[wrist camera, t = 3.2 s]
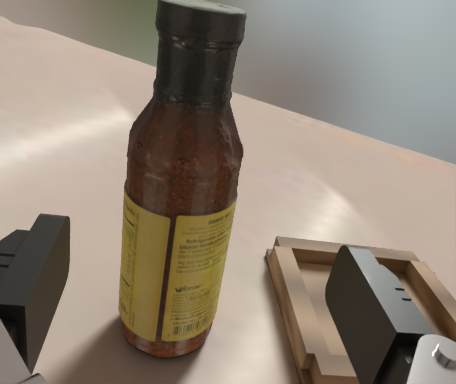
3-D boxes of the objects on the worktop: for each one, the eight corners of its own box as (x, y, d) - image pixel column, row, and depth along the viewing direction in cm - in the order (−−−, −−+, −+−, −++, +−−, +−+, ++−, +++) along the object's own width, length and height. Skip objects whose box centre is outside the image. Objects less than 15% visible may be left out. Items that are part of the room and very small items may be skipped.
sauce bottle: (216, 303, 31) (284, 14, 22) (203, 374, 25) (288, 27, 16) (128, 284, 31) (160, -13, 22) (96, 351, 25) (121, -10, 16)
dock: (507, 406, 28) (523, 386, 27) (304, 396, 25) (313, 374, 24) (409, 269, 40) (417, 252, 39) (265, 254, 38) (270, 235, 37)
